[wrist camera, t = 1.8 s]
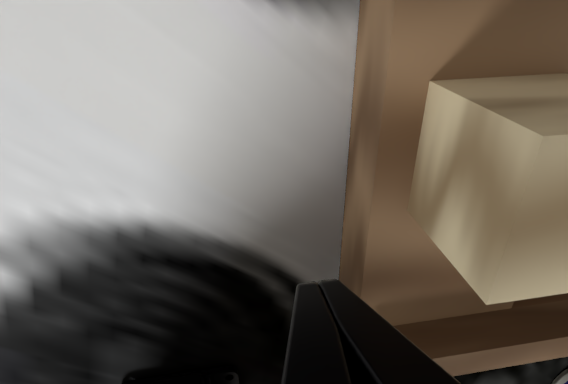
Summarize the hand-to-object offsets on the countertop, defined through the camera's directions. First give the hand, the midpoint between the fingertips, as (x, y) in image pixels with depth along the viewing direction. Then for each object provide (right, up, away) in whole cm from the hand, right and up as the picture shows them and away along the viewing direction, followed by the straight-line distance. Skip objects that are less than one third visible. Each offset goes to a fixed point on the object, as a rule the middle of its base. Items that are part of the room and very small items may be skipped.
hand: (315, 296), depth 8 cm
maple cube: (+7, +4, +6) cm, 10 cm away
